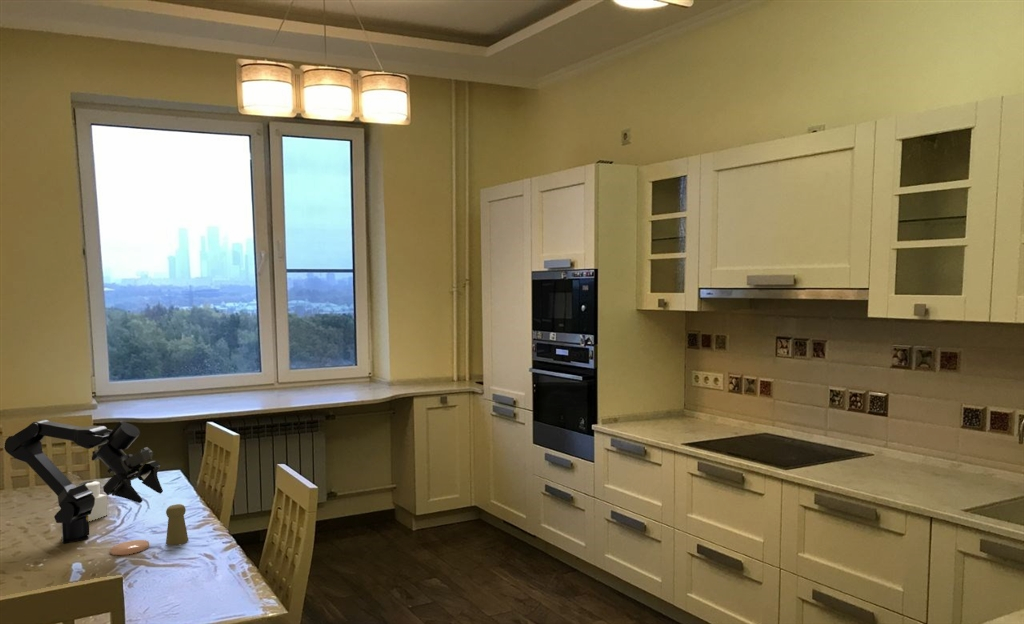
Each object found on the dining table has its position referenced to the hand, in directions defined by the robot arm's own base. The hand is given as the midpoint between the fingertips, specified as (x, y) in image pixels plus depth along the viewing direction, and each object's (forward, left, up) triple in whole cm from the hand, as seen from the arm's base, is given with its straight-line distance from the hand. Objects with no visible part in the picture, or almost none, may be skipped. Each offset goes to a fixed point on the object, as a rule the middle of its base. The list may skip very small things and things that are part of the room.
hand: (151, 497), depth 207 cm
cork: (+5, -5, -13) cm, 16 cm away
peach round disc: (-7, -2, -13) cm, 15 cm away
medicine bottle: (-13, +39, -13) cm, 43 cm away
